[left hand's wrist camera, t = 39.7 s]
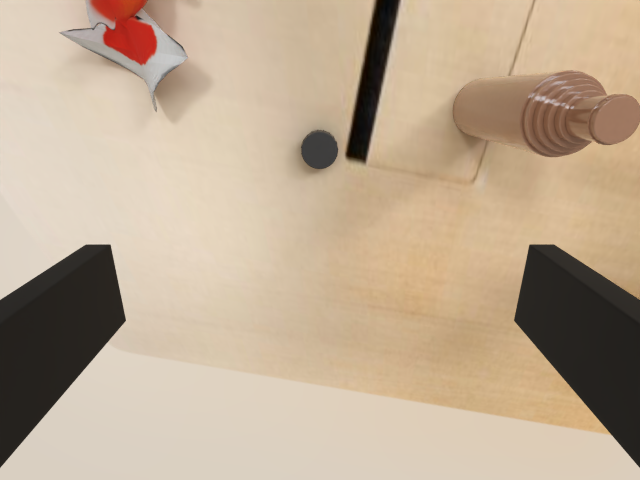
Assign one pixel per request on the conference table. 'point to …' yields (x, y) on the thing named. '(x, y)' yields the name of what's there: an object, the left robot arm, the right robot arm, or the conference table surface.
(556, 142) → the bottle
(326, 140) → the cap
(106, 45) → the fish
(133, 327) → the conference table surface
